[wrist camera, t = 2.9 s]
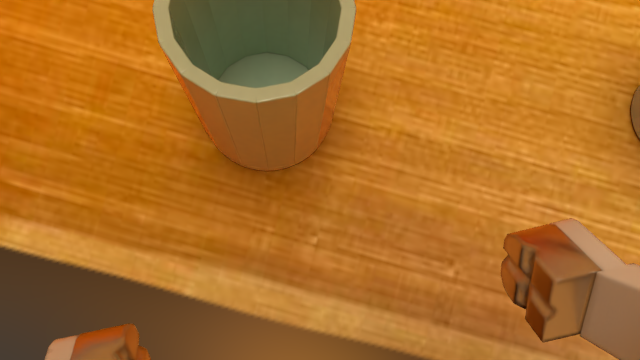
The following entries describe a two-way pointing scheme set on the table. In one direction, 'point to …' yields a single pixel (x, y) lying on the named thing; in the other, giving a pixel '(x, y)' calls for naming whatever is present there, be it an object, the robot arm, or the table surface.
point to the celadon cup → (259, 71)
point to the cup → (636, 111)
